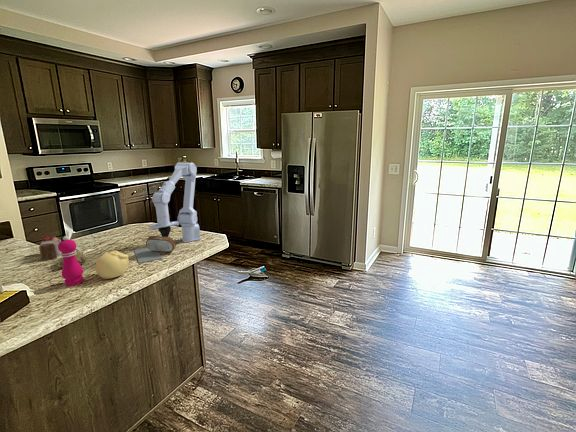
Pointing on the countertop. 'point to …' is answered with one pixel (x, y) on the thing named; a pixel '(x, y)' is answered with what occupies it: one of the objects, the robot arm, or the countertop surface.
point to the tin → (160, 244)
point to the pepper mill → (70, 263)
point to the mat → (147, 255)
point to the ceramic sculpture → (79, 257)
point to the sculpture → (111, 264)
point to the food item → (49, 248)
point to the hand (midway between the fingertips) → (165, 241)
